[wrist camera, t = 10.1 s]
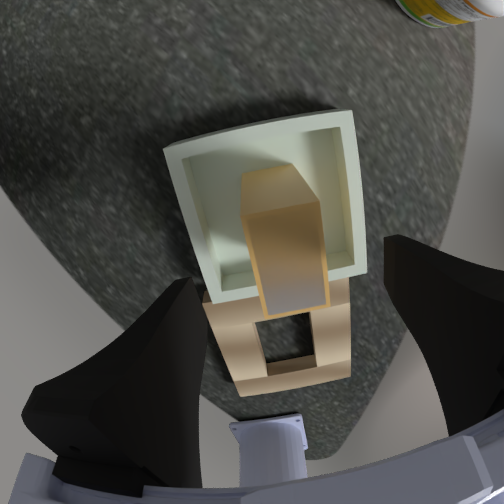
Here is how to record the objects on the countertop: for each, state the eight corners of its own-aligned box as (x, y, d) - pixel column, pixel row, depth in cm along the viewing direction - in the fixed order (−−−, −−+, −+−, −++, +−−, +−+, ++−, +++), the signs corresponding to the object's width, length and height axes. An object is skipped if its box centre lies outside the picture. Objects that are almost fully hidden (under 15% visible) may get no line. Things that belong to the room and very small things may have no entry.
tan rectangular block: (304, 239, 20) (330, 306, 13) (258, 248, 20) (264, 319, 14) (292, 163, 17) (319, 200, 11) (241, 173, 18) (240, 216, 11)
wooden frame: (346, 364, 26) (350, 376, 25) (240, 384, 27) (240, 396, 26) (342, 263, 21) (348, 274, 20) (204, 291, 22) (202, 303, 21)
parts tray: (355, 254, 21) (366, 272, 19) (215, 282, 22) (212, 304, 20) (338, 108, 16) (351, 110, 14) (173, 142, 17) (162, 148, 15)
